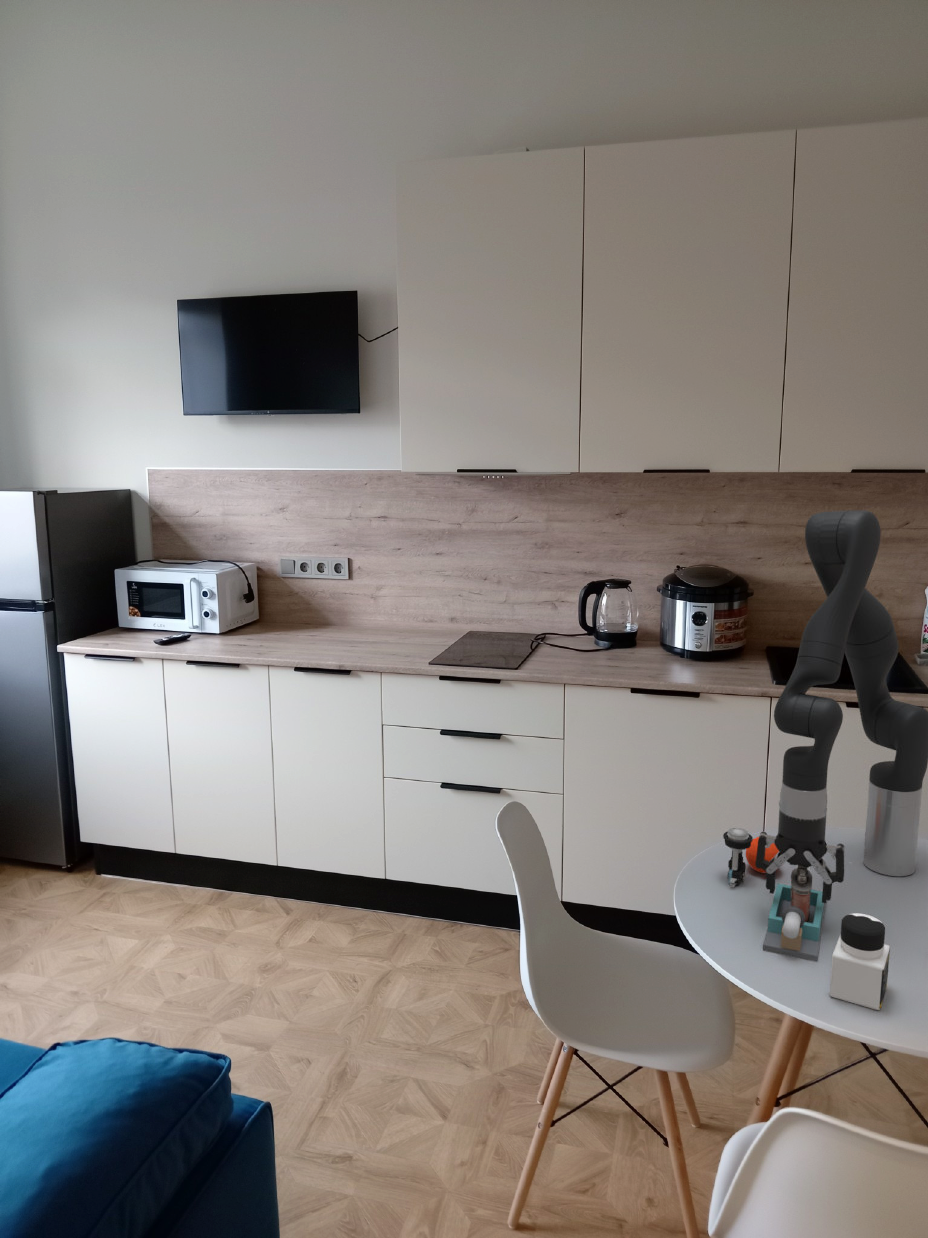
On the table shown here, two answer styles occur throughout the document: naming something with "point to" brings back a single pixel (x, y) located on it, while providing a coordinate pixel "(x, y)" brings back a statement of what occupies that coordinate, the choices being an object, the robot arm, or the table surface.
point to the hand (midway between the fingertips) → (797, 896)
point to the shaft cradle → (794, 925)
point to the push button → (737, 853)
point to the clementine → (752, 853)
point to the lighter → (801, 890)
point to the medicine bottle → (860, 962)
